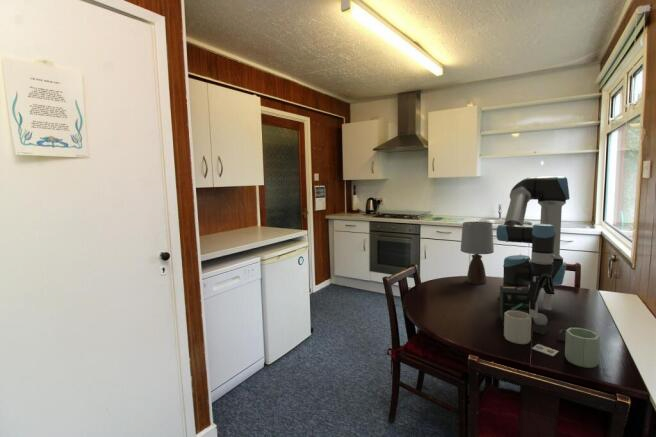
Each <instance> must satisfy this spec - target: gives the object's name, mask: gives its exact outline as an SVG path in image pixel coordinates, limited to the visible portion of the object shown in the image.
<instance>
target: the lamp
mask: <svg viewBox="0 0 656 437" xmlns="http://www.w3.org/2000/svg"><path fill="white" fill-rule="evenodd" d="M461 228H462V229H461V242H460V252H462V253H464V254H465V253H466V254H469V255H470V254H471V258H472V259H471V260H470V262H469V265H468V269H467V277H466V282H467V283H469V284H471V283H472V285H485V284H486V283H487V274H486V268H485V264H484V262H483V259H482V258H483V256H482V255H490V254H494V252H495V249H494V246H495V245H494V230H493V223H492V222H489V221H465V222H464V221H463V222H462V227H461Z"/></svg>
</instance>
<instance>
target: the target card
mask: <svg viewBox="0 0 656 437" xmlns="http://www.w3.org/2000/svg"><path fill="white" fill-rule="evenodd" d="M531 350H534V351H537V352H539V353H542V354H544V355H545V354H546V355H548V356H551V357H554V356H556V355H557V354H558V353H559V352H560V351H559V350H556V349H553V348H550V347H548V346H545V345H543V344H540V343H537V344H536V345H534V346H533V347H531Z"/></svg>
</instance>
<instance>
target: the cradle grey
mask: <svg viewBox="0 0 656 437" xmlns="http://www.w3.org/2000/svg"><path fill="white" fill-rule="evenodd" d="M532 332H535V333H537V334H539V335H545V334H546V333H547V332H548V324H546V325H544V326H539V325H537V324H536V323H535V322H534V323H533V324H532Z"/></svg>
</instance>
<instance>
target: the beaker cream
mask: <svg viewBox="0 0 656 437" xmlns="http://www.w3.org/2000/svg"><path fill="white" fill-rule="evenodd" d="M503 327H504V328H503V336H504V338H505V340H507V341H509V342H510V343H514V344H518V345H527V344H530V342H531V341H532V339H531V337H532V317H531V316H530V315H529V314H528V313H525V312H521V311H513V310H508V311H507V312H505V313H504V324H503Z"/></svg>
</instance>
